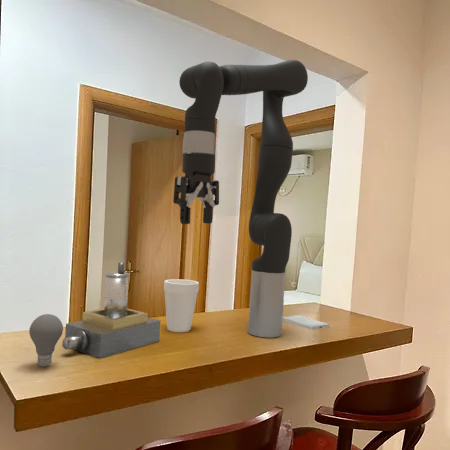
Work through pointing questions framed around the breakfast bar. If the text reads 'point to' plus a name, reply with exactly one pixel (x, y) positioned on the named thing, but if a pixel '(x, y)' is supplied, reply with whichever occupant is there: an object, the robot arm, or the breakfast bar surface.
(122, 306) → the spout can
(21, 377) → the breakfast bar surface
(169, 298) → the foam cup
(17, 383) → the breakfast bar surface
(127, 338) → the gearbox
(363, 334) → the breakfast bar surface
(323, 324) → the hard drive
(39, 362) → the light bulb
